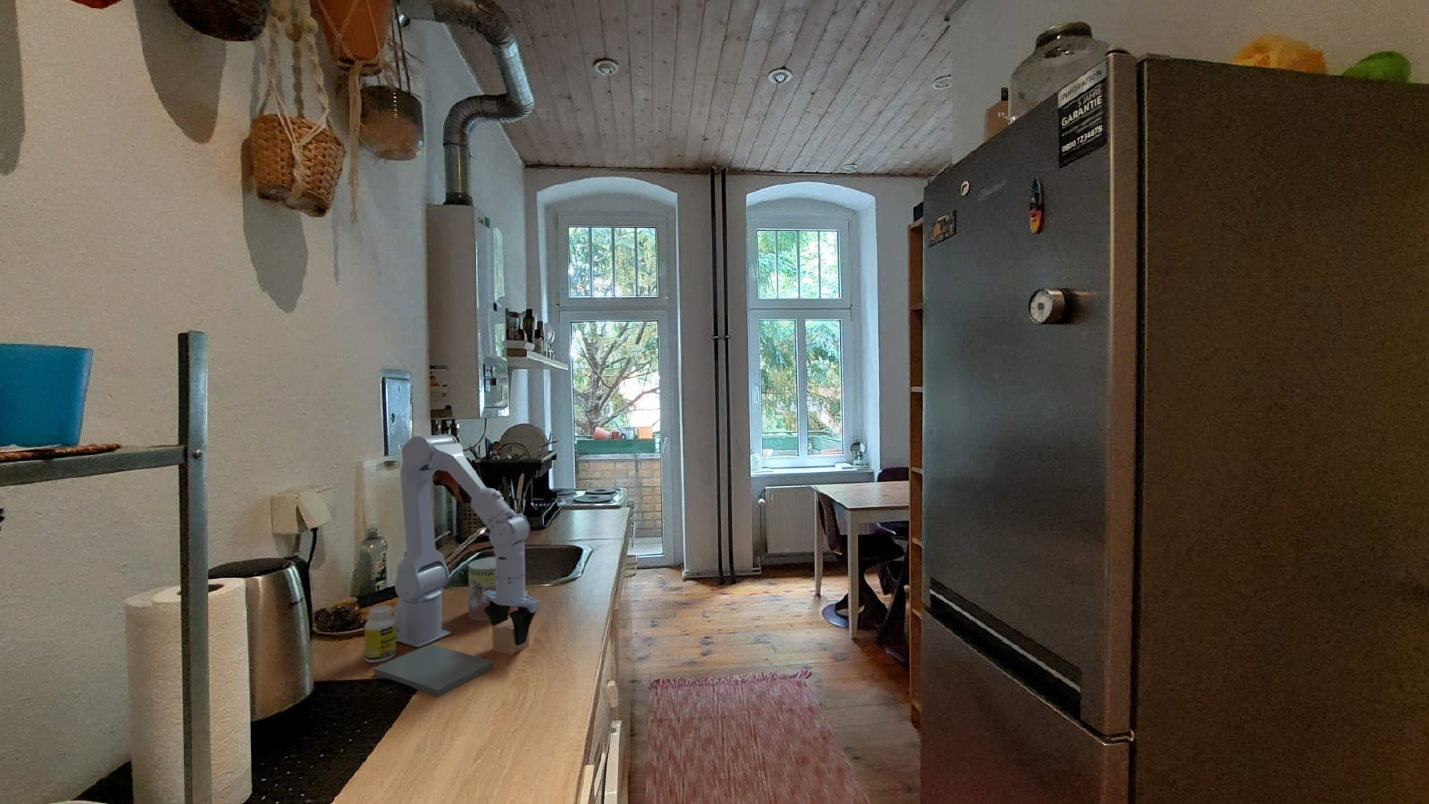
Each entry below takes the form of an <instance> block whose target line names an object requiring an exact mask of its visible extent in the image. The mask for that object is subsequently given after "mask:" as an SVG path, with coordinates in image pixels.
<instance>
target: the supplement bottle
mask: <svg viewBox="0 0 1429 804" xmlns="http://www.w3.org/2000/svg"><path fill="white" fill-rule="evenodd" d="M392 615H393V607H392V605H386V604H385V605H379V606H375V607H371V608H370V609H369V611H368V618H369V619H368V620H367V621H366V623H365V624H364V661H365V662H367V663H371V664H372V663H373V664H375V663H382V662H386V661H388V660H391V659H392V658H393V657H395V656H396V654H397V641H396V619H395V618H394V616H392Z"/></svg>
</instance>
